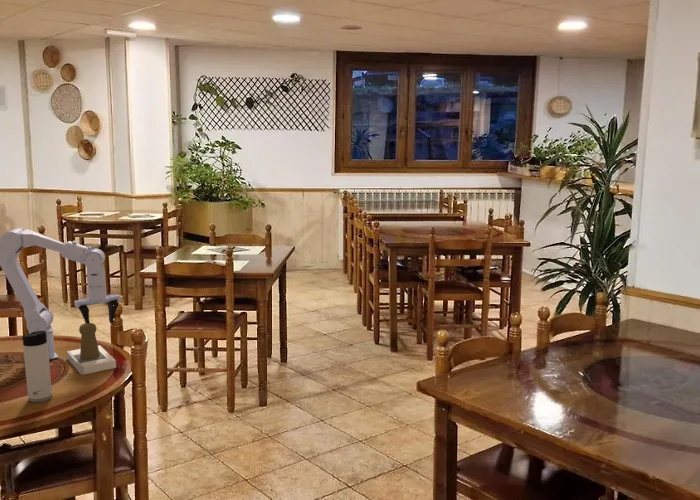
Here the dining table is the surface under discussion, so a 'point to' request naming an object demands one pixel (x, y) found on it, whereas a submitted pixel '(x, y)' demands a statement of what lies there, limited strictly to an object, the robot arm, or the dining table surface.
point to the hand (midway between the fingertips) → (99, 324)
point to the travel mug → (37, 366)
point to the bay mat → (90, 359)
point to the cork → (88, 342)
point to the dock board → (91, 362)
